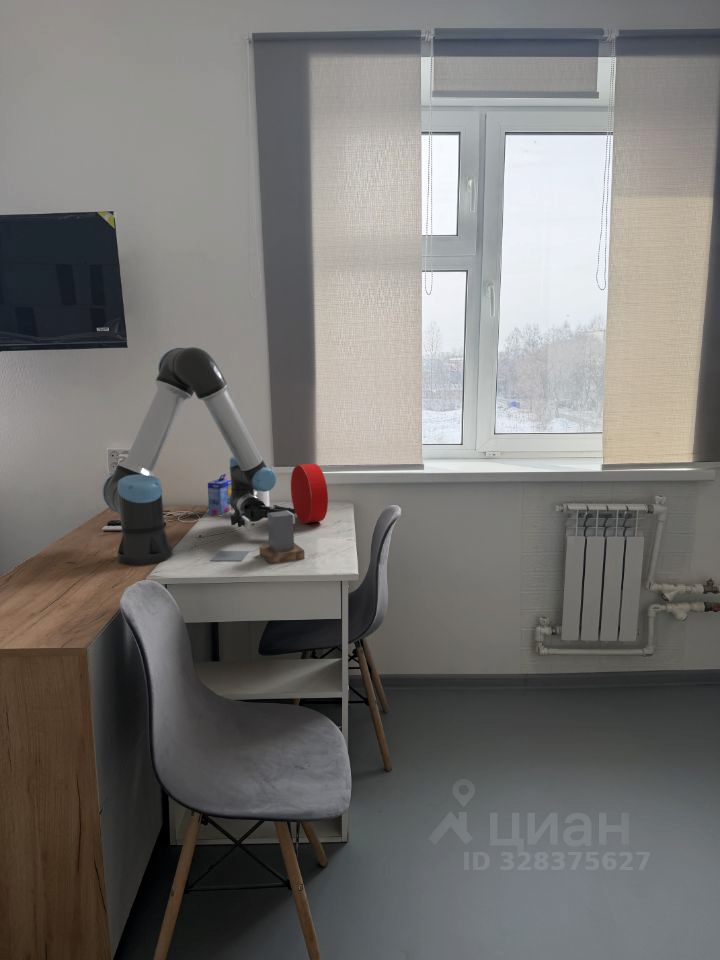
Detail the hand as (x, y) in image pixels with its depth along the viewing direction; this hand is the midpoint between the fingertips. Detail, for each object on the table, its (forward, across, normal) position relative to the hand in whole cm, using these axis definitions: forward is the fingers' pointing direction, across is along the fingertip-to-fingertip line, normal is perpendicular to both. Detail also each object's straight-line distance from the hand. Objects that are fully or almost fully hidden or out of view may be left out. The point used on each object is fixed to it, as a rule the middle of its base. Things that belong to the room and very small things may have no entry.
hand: (271, 522), depth 195 cm
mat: (+2, +13, -8) cm, 16 cm away
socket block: (+9, 0, -8) cm, 12 cm away
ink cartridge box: (-56, +2, -9) cm, 56 cm away
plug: (+9, 0, -8) cm, 12 cm away
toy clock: (-27, -22, -9) cm, 35 cm away
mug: (-46, -9, -9) cm, 48 cm away
